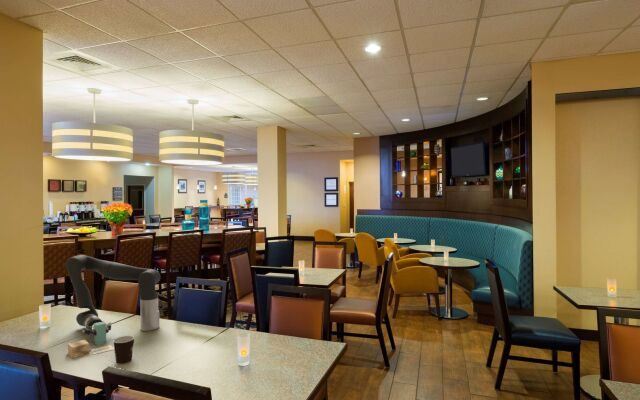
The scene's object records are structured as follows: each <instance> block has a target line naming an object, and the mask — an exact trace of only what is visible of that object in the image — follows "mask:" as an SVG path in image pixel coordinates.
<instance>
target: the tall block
mask: <svg viewBox="0 0 640 400" xmlns="http://www.w3.org/2000/svg"><path fill="white" fill-rule="evenodd" d="M102 321H103V320H102ZM106 324H107V322H106V321H103V322H99V323H94V330H96V331H97V335H96V336H95V335H93V337H94V338H93V339H94V342H93V343H94V344H95V345H96V346H98V345H99V346H100V345H103V344H107V333H106Z"/></svg>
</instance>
